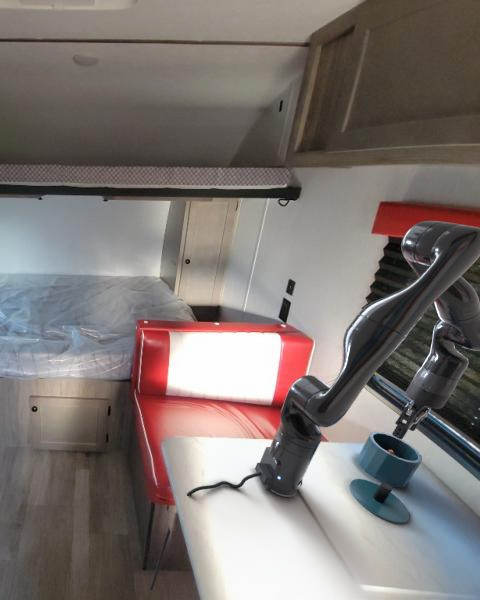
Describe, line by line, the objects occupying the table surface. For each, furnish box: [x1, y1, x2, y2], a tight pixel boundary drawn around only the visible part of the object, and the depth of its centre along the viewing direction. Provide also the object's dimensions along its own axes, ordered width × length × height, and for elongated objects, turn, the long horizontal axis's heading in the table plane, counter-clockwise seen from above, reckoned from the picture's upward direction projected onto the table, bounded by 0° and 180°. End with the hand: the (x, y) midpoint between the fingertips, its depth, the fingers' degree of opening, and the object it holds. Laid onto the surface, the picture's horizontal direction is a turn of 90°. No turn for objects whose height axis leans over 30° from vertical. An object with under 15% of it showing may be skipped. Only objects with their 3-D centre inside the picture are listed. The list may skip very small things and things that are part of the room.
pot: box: [356, 431, 423, 488], centre depth 99 cm, size 12×12×10 cm
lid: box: [349, 478, 410, 525], centre depth 89 cm, size 13×13×6 cm
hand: (403, 432), depth 95 cm, fingers open, 8 cm apart
